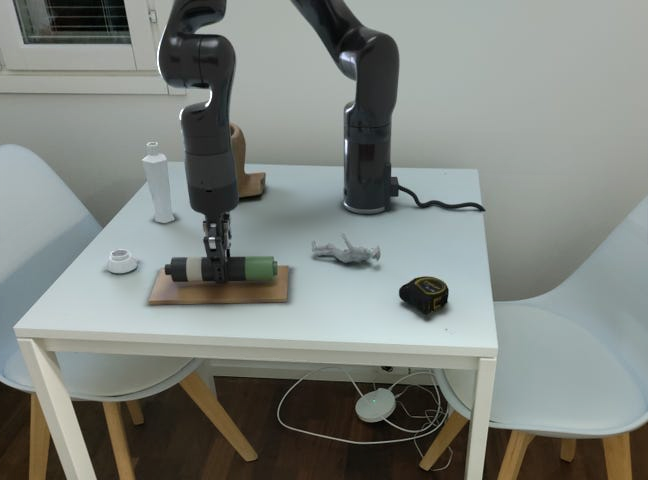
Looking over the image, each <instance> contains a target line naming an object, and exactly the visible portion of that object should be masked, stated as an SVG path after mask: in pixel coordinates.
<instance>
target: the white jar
mask: <svg viewBox="0 0 648 480" xmlns="http://www.w3.org/2000/svg"><path fill="white" fill-rule="evenodd" d="M109 255H110V256H109V258H108V261H107V264H106V269H107V271H109V272H110V273H114V274H127V273H129V272H131V271H133V270H135V269H136V268H137V267H138V261H137V259H136V258H135V257H134V256H133V255H132V253H130V251H129V249H125V248H119V249H118V248H117V249H115V250H113V251H111V252H110V254H109Z"/></svg>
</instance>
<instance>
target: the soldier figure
mask: <svg viewBox="0 0 648 480" xmlns="http://www.w3.org/2000/svg"><path fill="white" fill-rule="evenodd" d="M339 236H340V237H341V238H342V240H343V241H344V244H345V246H346V247H347V248H346V249H343V250H342V249H340V248H339V247H338V246H336V245H334V244H333V243H326V244H323V245H320V244H319V245H316V240H312V241H311V246H312V248H311V252H312V253H315V252H317V256H318V257H321V256H329V255H333V256H334V257H335V258H336V259H338V260H339V262H342V263H344V264H347V263H351V262H353V261H355V260H357V261H359V260H360V261H368V260H369V259H370V258H371V259H373V260H376V262H379V260H380V259H381V255H382V253H381V248H380V245H379V244H377V245H376V246H375V247H374V248H373V247H371V249H368V248H367V247H364V246H358V247H357V246H354V245H353V244H352V243H351V242H350V241H349V239H348V238H347V236H346V234H344V233H343V232H341V233H340V235H339ZM371 250H372V251H371Z"/></svg>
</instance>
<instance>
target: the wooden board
mask: <svg viewBox="0 0 648 480" xmlns="http://www.w3.org/2000/svg"><path fill="white" fill-rule="evenodd" d="M289 273H290V266H289V265H278V275H277V276H274V280H273V281H228V283H227V284H216V283H215V281H204V282H173V280H172V277H171V275H166V274H165V267H161V268H160V269H159V273H158V274H157V278H156V280H155V283H154V286H153V288H152V291H151V293H150V296H149V299H148V304H149V305H150V306H154V305H155V306H156V305H158V306H159V305H161V306H163V305H203V304H204V305H205V304H206V305H207V304H208V305H209V304H255V303H256V304H258V303H287V301H288V300H287V299H288V287H289Z"/></svg>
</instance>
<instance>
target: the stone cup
mask: <svg viewBox="0 0 648 480" xmlns="http://www.w3.org/2000/svg"><path fill="white" fill-rule="evenodd" d="M230 132H231V142H232V150H233V154H234V158H235V165H236V175H237V185H238V195H239V198H246V197H253V196H259V195H262V194H263V191H264V188H265V187H266V176H267V174H266V172H264V171H263V172H252V173H251V172H250V173H249V172H248V173H246V172H245V167H246V166H245V163H246V151H247V144H246V138H245V135H244V132H243V131H242V129H241V127H240V126H239V125H237V124H236V123H234V122H230Z"/></svg>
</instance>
